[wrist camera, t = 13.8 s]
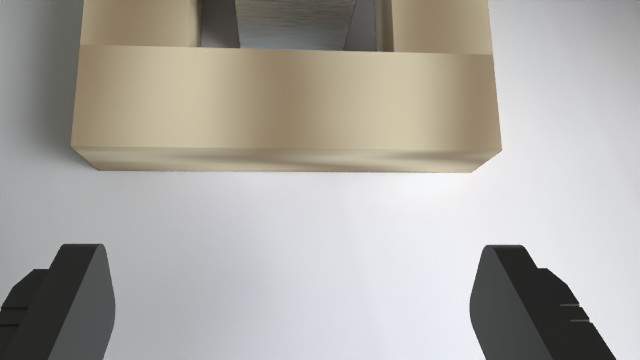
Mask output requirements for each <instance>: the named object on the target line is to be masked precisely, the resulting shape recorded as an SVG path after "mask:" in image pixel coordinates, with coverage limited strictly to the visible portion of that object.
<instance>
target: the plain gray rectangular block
mask: <svg viewBox="0 0 640 360" xmlns="http://www.w3.org/2000/svg"><path fill="white" fill-rule="evenodd" d="M355 3H356V0H235V6H236V15H237V23H238V32H239V40H240V48H242V49H283V50H324V51H343V48H344V44H345V41H346V37H347V33H348V29H349V26H350V22H351V18H352V14H353V11H354V7H355Z"/></svg>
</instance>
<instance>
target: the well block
mask: <svg viewBox="0 0 640 360" xmlns="http://www.w3.org/2000/svg"><path fill="white" fill-rule="evenodd" d="M375 21H376V45H377V52H365V51H324V50H283V49H242V48H201V25H202V0H84V6H83V16H82V27H81V38H80V48H79V59H78V70H77V80H76V91H75V102H74V112H73V123H72V134H71V144H70V147H72V148H73V149H74V150H75V151H76V152H78V153H79V154H80V155H81V156H82V157H83V158H85V159H86V160H87V161H88V162H89V163H91V164H92V165H93V166H94V167H95V168H97V169H98V170H99V171H263V172H430V173H471V172H473V171H474V170H476V169H477V168H478V167H480V166H481V165H483V164H484V163H485V162H487V161H488V160H490V159H491V158H492V157H494V156H495V155H496V154H498V153H499V152H501V151H502V145H501V135H500V124H499V114H498V103H497V93H496V83H495V72H494V62H493V51H492V41H491V30H490V20H489V10H488V0H375Z"/></svg>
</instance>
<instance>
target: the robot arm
mask: <svg viewBox="0 0 640 360" xmlns="http://www.w3.org/2000/svg"><path fill="white" fill-rule="evenodd" d="M470 318H471V323H472V326H473V329H474V331H475V334H476V336H477V339H478V341H479V344H480V346H481V349H482V351H483V353H484V356H485V358H486V360H616V358H615V357H614V355H613V354H612V352H611V351H610V349H609V348H608V346H607V345H606V343H605V342H604V340H603V339H602V337H601V335H600V334H599V332H598V331H597V329H596V328H595V326H594V325H593V323H590V322H589V317H588V316H587V314H586V313H585V311H584V310H583V308H582V307H579V302H578V301H577V299H576V298H575V296H574V295H573V293H572V291H571V290H570V288H569V287H568V285H567V284H566V283H564V282H563V281H562V280H561V279H559V278H558V277H557V276H556V275H555V274H553V273H552V272H551V271H550V270H548V269H547V268H537V266H536V265H535V263H534V261H533V260H532V258H531V257H530V255H529V253H528V252H527V250H526V249H525V247H523V246H522V245H486V246H485V247H484V249H483V251H482V254H481V258H480V262H479V266H478V269H477V273H476V277H475V281H474V285H473V289H472V293H471V297H470ZM114 320H115V297H114V292H113V286H112V281H111V275H110V270H109V264H108V259H107V253H106V249H105V247H104V245H103V244H63V245H62V246H61V247H60V249H59V251H58V253H57V255H56V256H55V258H54V260H53V262H52V264H51V266H50V268H49V269H34V270H33V271H32V272H30V273H29V274H28V275H27V276H26V277H24V278H23V279H22V280H21V281H20V282H18V283H17V284H16V285H15V286H14V287H13V288H12V290H11V291H10V293H9V295H8V297H7V298H6V300H5V302H4V303H3V305H2V307H1V312H0V360H103V357H104V354H105V351H106V348H107V345H108V342H109V339H110V336H111V333H112V330H113V326H114Z"/></svg>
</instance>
